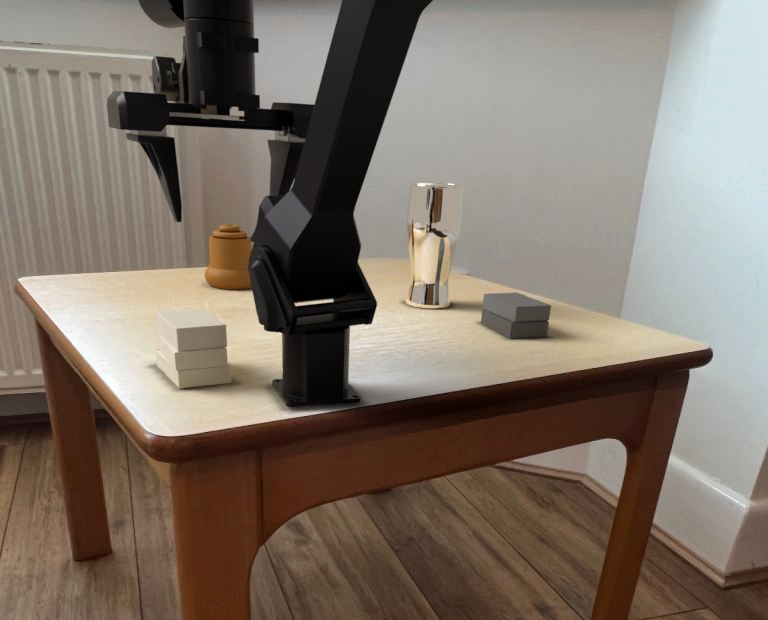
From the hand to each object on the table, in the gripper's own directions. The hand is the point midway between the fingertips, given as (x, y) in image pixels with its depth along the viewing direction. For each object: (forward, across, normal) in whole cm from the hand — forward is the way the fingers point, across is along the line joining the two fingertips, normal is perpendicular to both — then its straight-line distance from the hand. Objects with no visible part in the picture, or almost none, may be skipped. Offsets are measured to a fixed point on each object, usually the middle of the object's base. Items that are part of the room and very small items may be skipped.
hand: (227, 221), depth 70 cm
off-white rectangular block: (+9, +6, +5) cm, 12 cm away
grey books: (+12, -35, 0) cm, 37 cm away
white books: (+13, +6, +6) cm, 15 cm away
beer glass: (+13, -32, -16) cm, 38 cm away
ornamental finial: (+13, -11, -34) cm, 38 cm away
